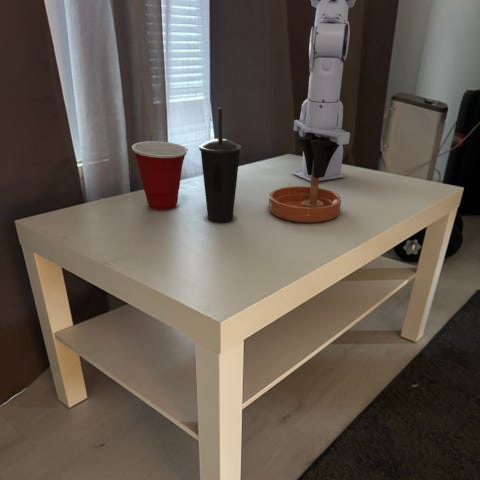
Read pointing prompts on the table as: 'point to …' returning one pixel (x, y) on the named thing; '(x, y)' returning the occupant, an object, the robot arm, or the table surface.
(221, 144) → the drinking cup
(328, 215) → the bowl
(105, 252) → the table surface
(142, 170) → the plastic cup
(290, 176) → the table surface
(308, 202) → the stirring stick
